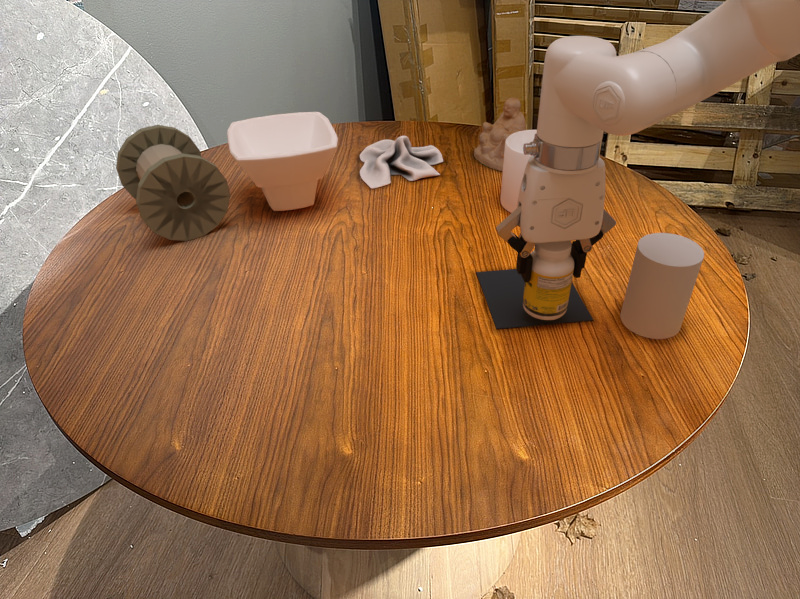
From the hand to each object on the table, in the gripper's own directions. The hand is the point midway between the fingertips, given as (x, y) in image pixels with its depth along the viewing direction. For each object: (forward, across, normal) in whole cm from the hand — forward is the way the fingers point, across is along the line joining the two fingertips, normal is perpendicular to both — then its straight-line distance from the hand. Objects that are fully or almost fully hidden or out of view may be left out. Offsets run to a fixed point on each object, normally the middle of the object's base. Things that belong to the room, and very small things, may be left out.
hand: (549, 273), depth 84 cm
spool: (+8, -57, +38) cm, 69 cm away
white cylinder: (+8, +8, +34) cm, 35 cm away
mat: (+8, 0, +6) cm, 10 cm away
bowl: (+8, -37, +41) cm, 55 cm away
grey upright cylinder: (+8, +15, -2) cm, 17 cm away
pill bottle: (+6, 0, 0) cm, 6 cm away
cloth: (+8, -15, +54) cm, 56 cm away
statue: (+8, +7, +54) cm, 55 cm away
